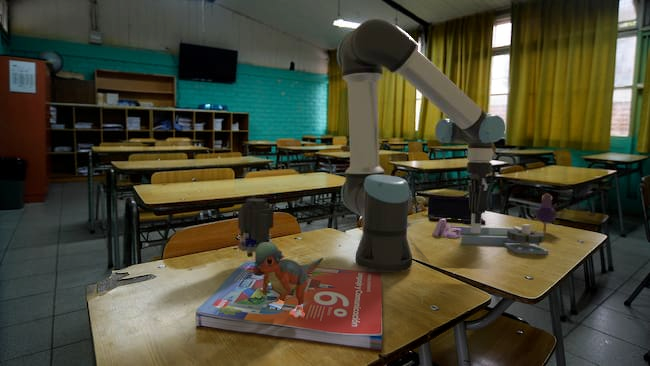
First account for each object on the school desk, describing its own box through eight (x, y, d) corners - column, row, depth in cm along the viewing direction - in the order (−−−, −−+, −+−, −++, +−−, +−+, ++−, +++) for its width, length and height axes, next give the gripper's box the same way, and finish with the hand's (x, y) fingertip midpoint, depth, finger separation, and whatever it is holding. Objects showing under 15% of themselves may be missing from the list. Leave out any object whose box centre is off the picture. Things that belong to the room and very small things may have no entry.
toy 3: (564, 214, 139) (547, 205, 144) (563, 198, 131) (545, 189, 136) (544, 236, 139) (528, 226, 144) (542, 221, 131) (524, 211, 136)
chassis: (473, 252, 110) (474, 226, 109) (447, 232, 135) (448, 211, 134) (557, 254, 110) (559, 228, 109) (515, 234, 134) (517, 213, 134)
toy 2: (254, 331, 66) (254, 246, 64) (238, 307, 75) (237, 232, 74) (346, 311, 74) (348, 236, 73) (321, 291, 84) (323, 224, 82)
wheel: (517, 242, 109) (517, 236, 109) (502, 235, 119) (502, 228, 119) (550, 243, 109) (551, 236, 109) (533, 236, 119) (533, 229, 118)
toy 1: (264, 249, 107) (265, 197, 106) (278, 257, 100) (279, 201, 98) (235, 254, 102) (235, 198, 101) (247, 262, 95) (247, 203, 94)
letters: (462, 237, 131) (463, 220, 130) (453, 240, 126) (454, 222, 125) (440, 233, 136) (441, 216, 135) (431, 236, 131) (431, 219, 131)
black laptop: (429, 224, 151) (431, 199, 150) (427, 217, 167) (428, 194, 166) (485, 227, 147) (486, 202, 146) (477, 220, 163) (478, 196, 162)
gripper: (500, 162, 118) (495, 237, 120) (483, 161, 131) (479, 228, 133) (475, 162, 118) (471, 236, 120) (461, 160, 131) (457, 228, 133)
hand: (475, 232), depth 127 cm, fingers closed
